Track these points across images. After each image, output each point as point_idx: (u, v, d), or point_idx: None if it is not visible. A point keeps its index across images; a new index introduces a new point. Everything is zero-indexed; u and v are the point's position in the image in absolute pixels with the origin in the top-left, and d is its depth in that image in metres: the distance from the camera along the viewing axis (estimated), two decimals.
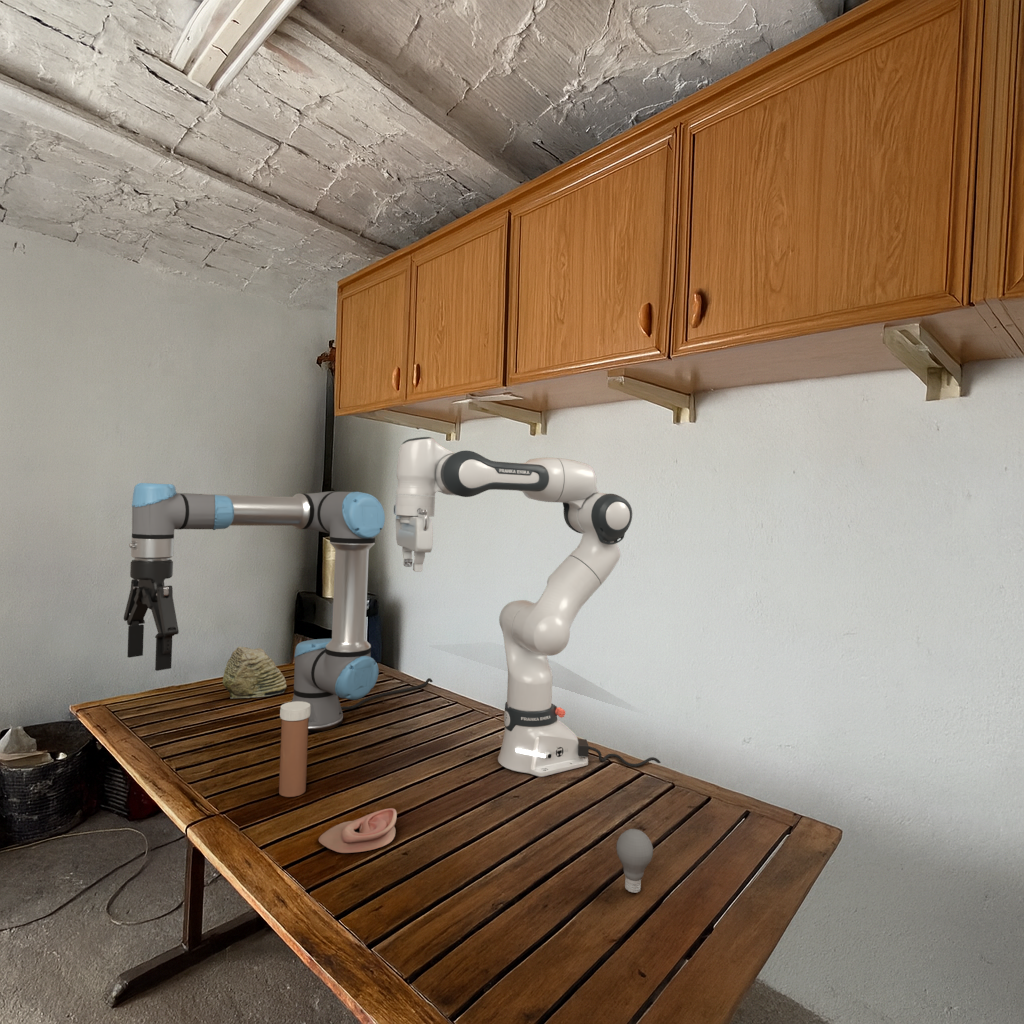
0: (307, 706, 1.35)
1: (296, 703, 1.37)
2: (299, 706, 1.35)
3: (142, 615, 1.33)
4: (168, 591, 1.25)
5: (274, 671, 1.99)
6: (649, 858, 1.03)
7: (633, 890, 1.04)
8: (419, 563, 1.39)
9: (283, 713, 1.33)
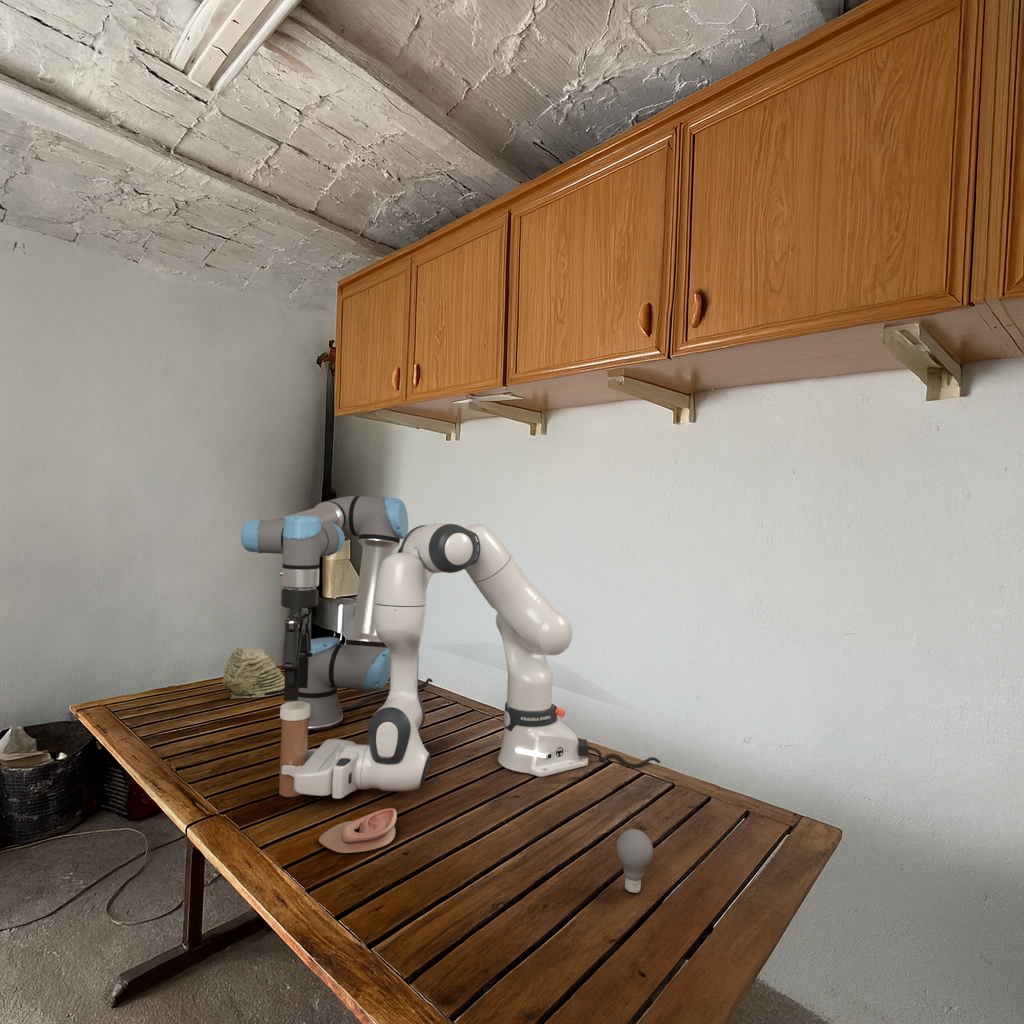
0: (307, 706, 1.35)
1: (296, 703, 1.37)
2: (299, 706, 1.35)
3: (305, 646, 1.39)
4: (293, 626, 1.28)
5: (274, 671, 1.99)
6: (649, 858, 1.03)
7: (633, 890, 1.04)
8: None
9: (283, 713, 1.33)
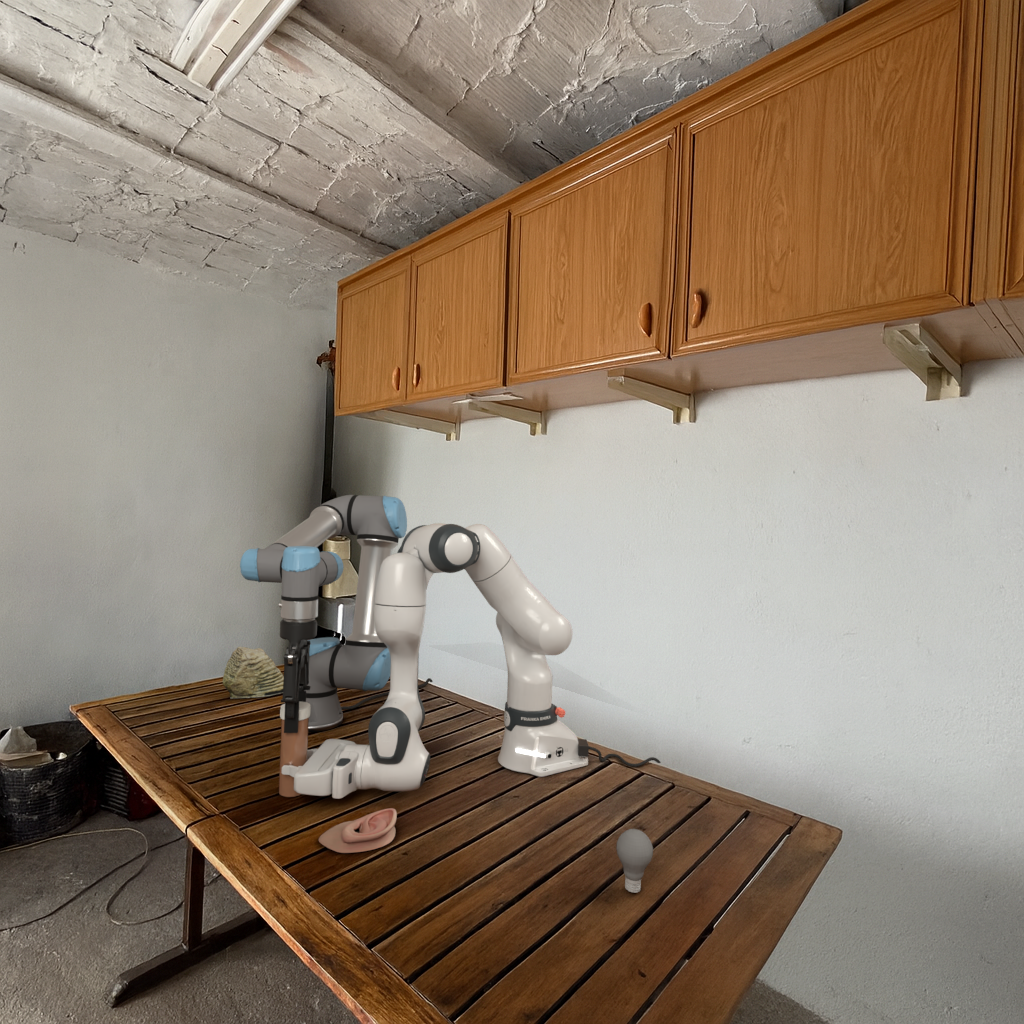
0: (307, 706, 1.35)
1: None
2: (299, 706, 1.35)
3: (303, 678, 1.38)
4: (292, 660, 1.29)
5: (274, 671, 1.99)
6: (649, 858, 1.03)
7: (633, 890, 1.04)
8: None
9: (283, 713, 1.33)
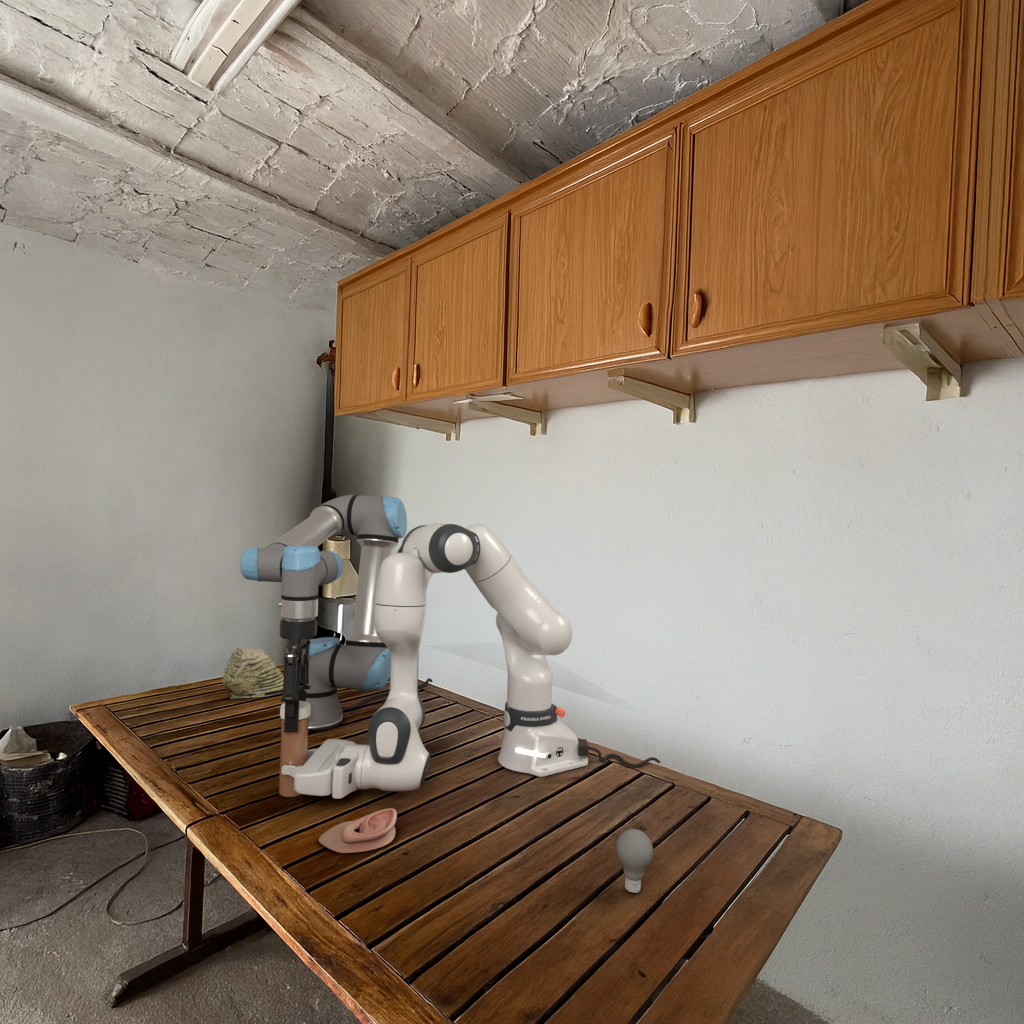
0: (299, 701, 1.38)
1: None
2: None
3: (303, 678, 1.38)
4: (292, 660, 1.29)
5: (274, 671, 1.99)
6: (649, 858, 1.03)
7: (633, 890, 1.04)
8: None
9: (304, 712, 1.34)
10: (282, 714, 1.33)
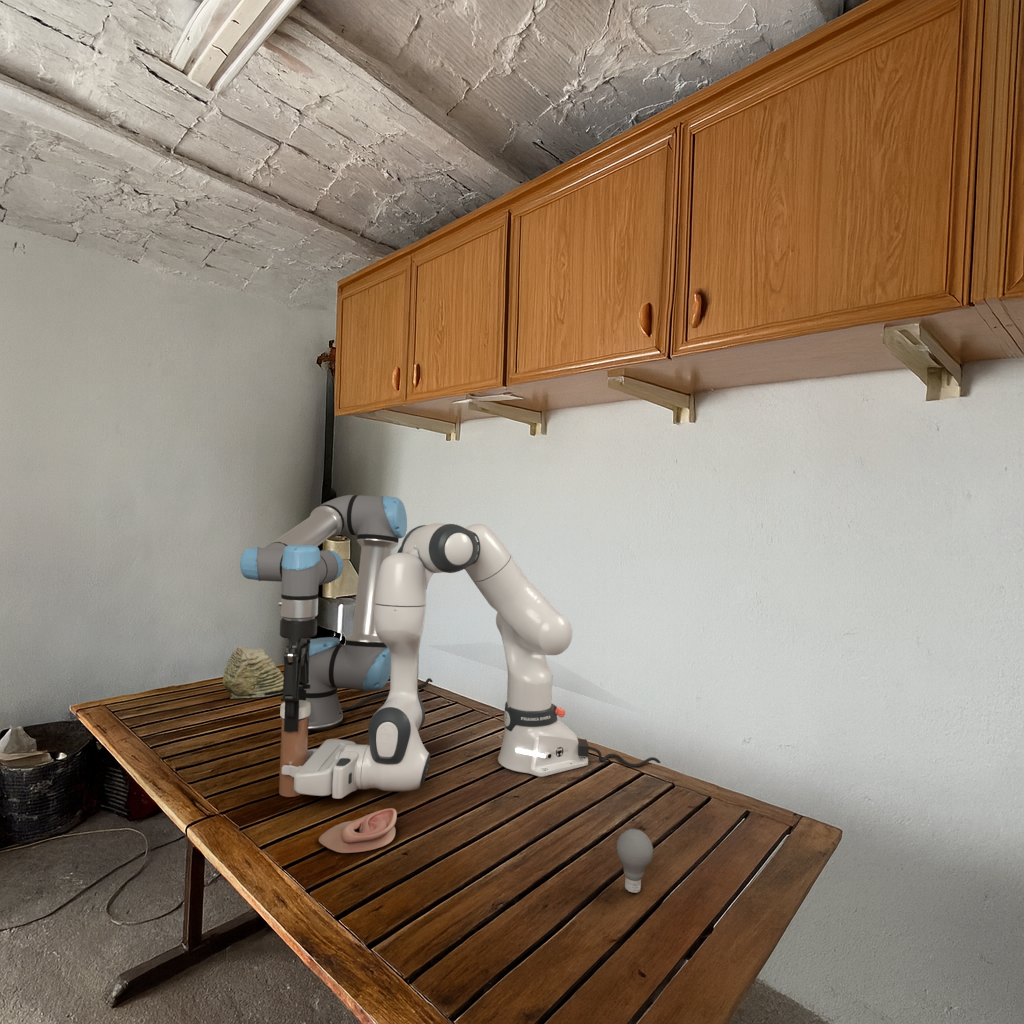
0: (283, 704, 1.35)
1: None
2: None
3: (303, 677, 1.38)
4: (292, 659, 1.29)
5: (274, 671, 1.99)
6: (649, 858, 1.03)
7: (633, 890, 1.04)
8: None
9: None
10: (303, 713, 1.34)
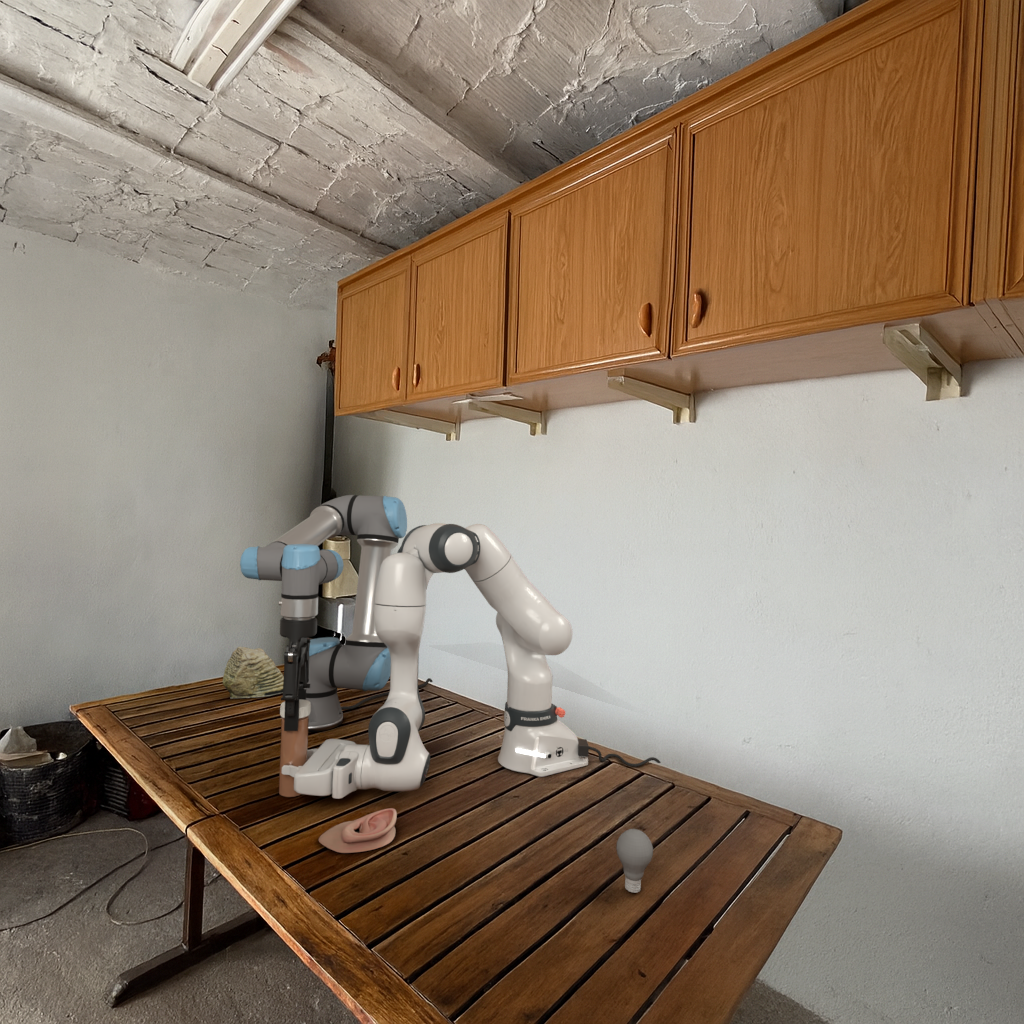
0: None
1: (303, 703, 1.36)
2: None
3: (303, 676, 1.38)
4: (292, 658, 1.29)
5: (274, 671, 1.99)
6: (649, 858, 1.03)
7: (633, 890, 1.04)
8: None
9: None
10: None
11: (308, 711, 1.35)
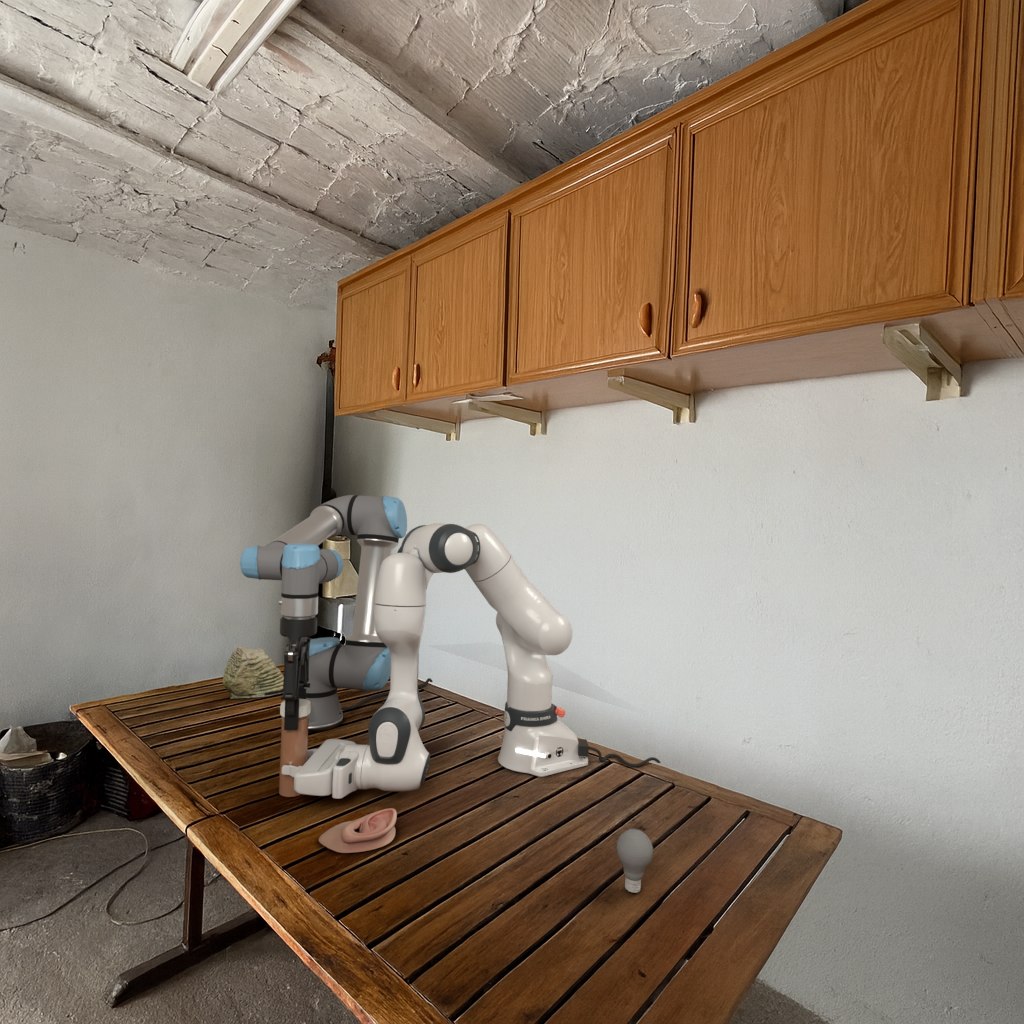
0: (308, 702, 1.36)
1: None
2: (300, 703, 1.35)
3: (303, 676, 1.38)
4: (292, 658, 1.29)
5: (274, 671, 1.99)
6: (649, 858, 1.03)
7: (633, 890, 1.04)
8: None
9: None
10: None
11: None
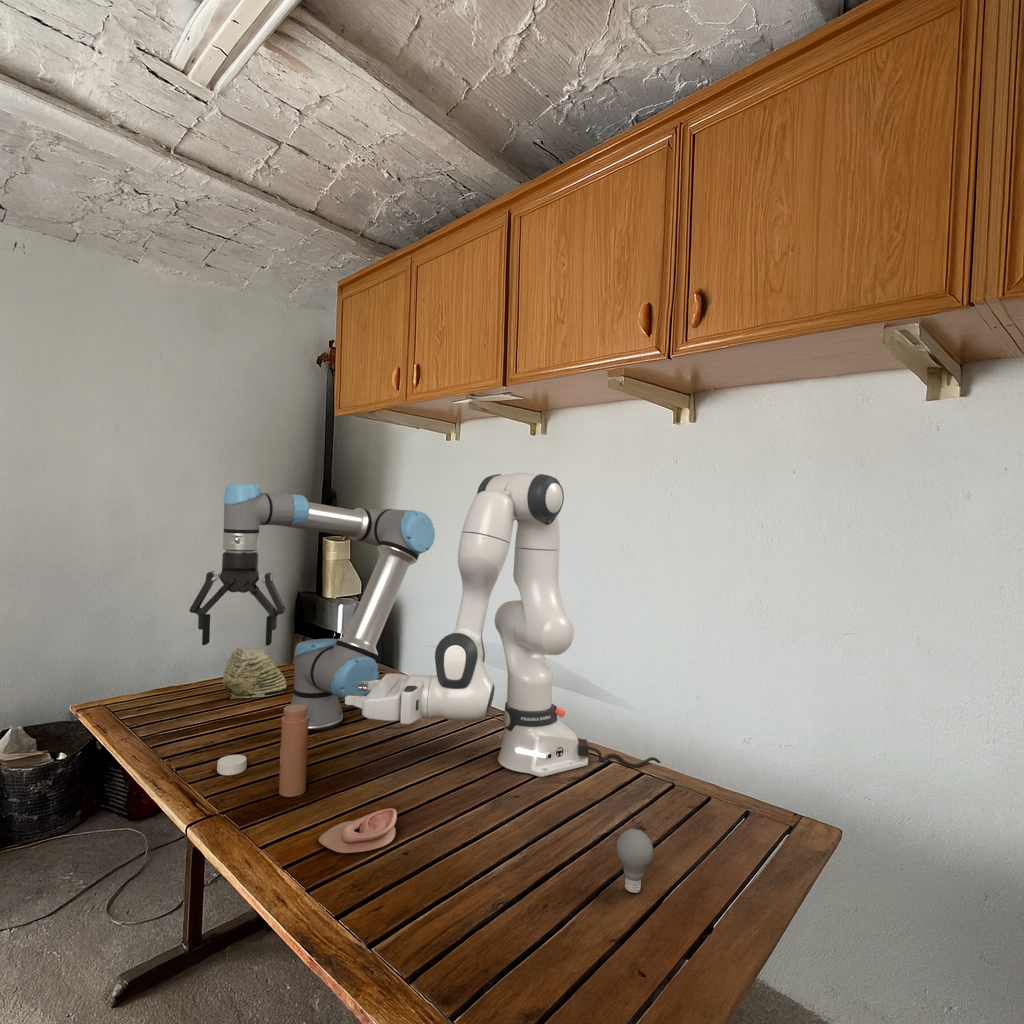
0: (220, 760, 1.44)
1: (232, 762, 1.43)
2: (228, 759, 1.45)
3: None
4: (271, 577, 1.46)
5: (274, 671, 1.99)
6: (649, 858, 1.03)
7: (633, 890, 1.04)
8: None
9: None
10: (241, 768, 1.44)
11: (226, 771, 1.42)
